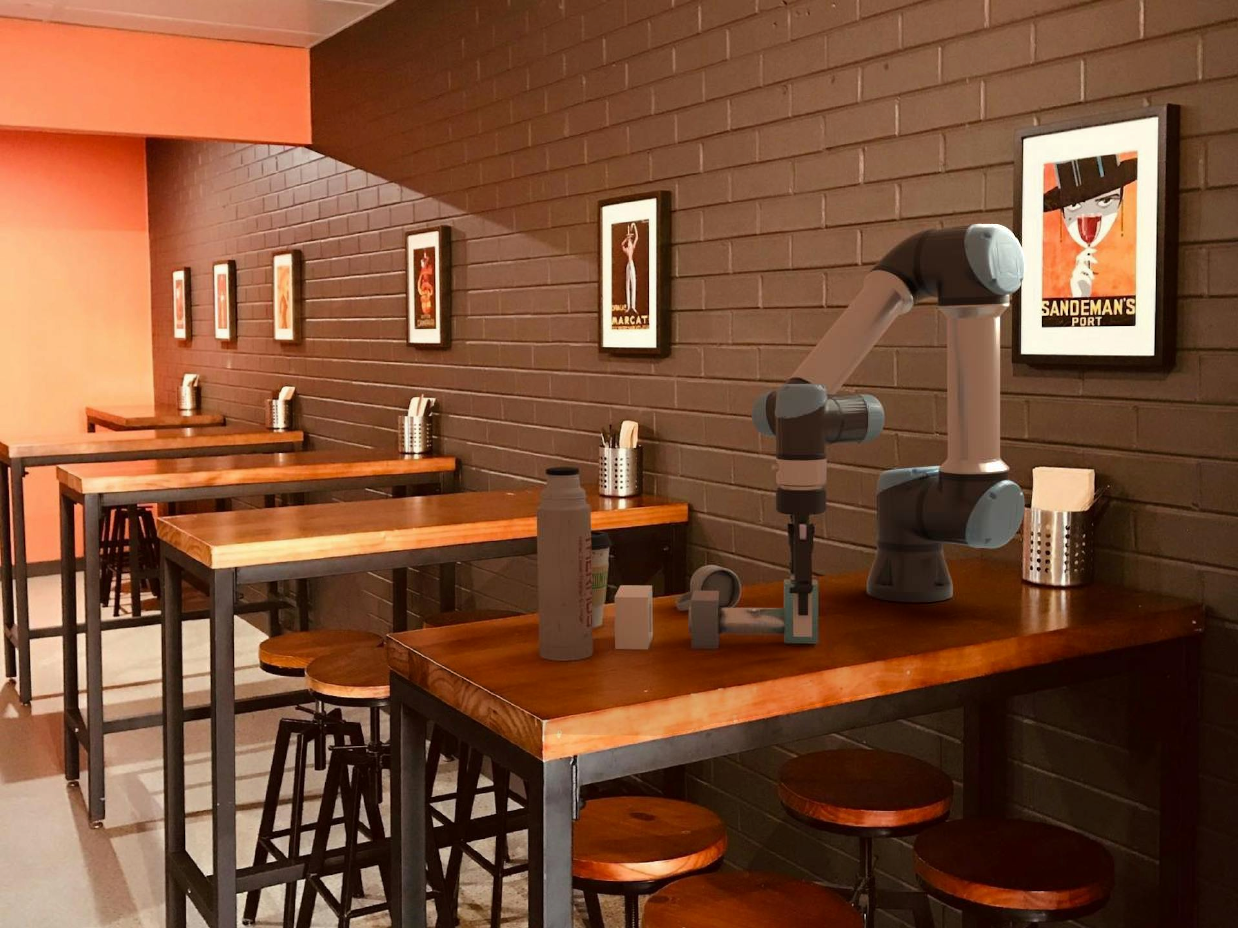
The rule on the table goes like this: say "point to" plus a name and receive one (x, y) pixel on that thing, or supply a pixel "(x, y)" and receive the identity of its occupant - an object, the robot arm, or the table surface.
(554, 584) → the thermos bottle
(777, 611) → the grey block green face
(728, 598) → the ceramic mug
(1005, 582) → the table surface
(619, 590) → the socket block
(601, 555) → the coffee cup
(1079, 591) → the table surface
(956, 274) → the robot arm
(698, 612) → the square hollow collar
